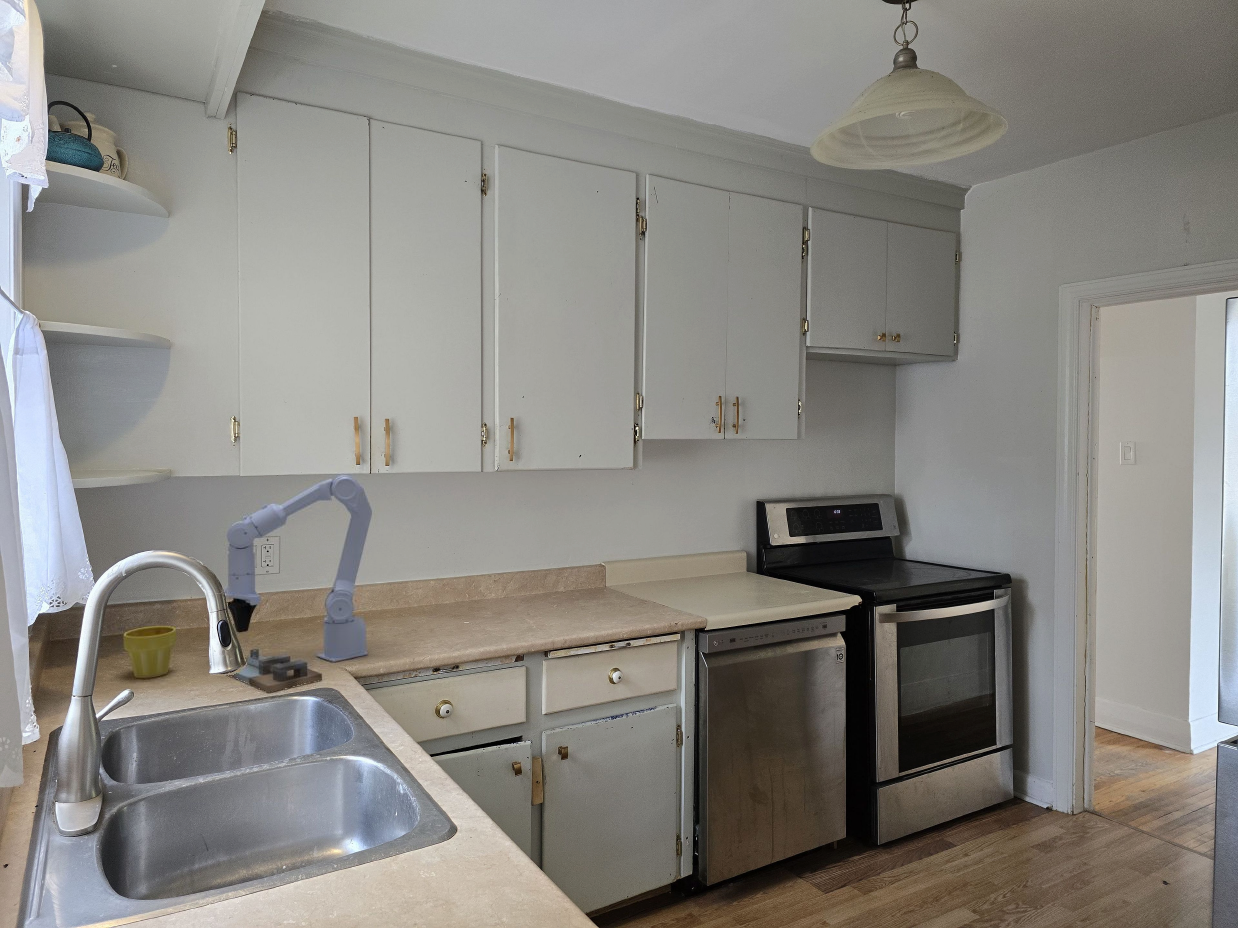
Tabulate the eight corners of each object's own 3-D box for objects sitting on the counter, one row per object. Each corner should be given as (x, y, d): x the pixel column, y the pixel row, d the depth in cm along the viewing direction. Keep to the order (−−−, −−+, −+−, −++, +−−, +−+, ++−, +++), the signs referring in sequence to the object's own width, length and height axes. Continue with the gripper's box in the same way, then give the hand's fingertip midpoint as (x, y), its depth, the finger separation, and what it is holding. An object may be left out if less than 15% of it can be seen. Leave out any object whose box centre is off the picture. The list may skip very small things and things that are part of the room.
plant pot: (117, 682, 180) (117, 637, 180) (131, 669, 190) (130, 627, 190) (171, 678, 183) (170, 634, 183) (181, 666, 193) (181, 624, 192)
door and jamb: (273, 662, 197) (273, 643, 196) (321, 680, 182) (321, 660, 182) (222, 672, 187) (222, 653, 187) (268, 693, 173) (268, 671, 173)
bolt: (257, 660, 192) (257, 648, 191) (281, 670, 184) (280, 656, 184) (247, 663, 190) (247, 650, 190) (270, 672, 183) (270, 658, 182)
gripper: (210, 571, 195) (211, 629, 195) (238, 579, 185) (239, 639, 186) (240, 568, 200) (241, 624, 201) (269, 575, 191) (269, 634, 191)
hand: (242, 631), depth 194 cm, fingers closed
